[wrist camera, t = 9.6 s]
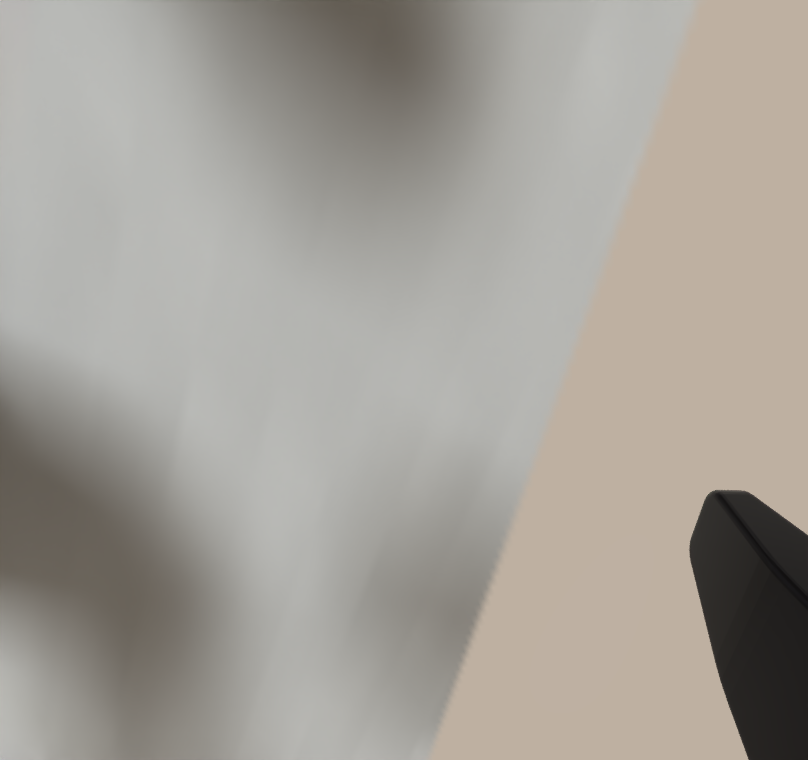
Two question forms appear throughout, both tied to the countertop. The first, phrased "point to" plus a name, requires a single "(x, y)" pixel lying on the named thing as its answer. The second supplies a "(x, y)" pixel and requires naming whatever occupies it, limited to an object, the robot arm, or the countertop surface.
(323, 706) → the countertop surface
